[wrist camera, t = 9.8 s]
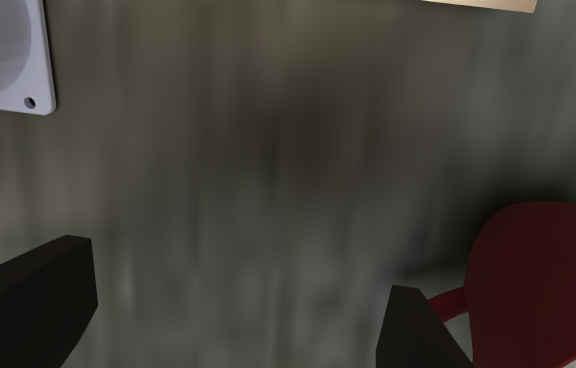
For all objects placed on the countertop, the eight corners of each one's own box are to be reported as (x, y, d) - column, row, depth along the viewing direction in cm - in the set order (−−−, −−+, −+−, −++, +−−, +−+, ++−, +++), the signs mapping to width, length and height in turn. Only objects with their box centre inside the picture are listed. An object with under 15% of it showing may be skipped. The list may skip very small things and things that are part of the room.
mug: (433, 344, 24) (490, 566, 15) (357, 235, 22) (371, 422, 13) (642, 264, 21) (877, 487, 12) (580, 123, 18) (817, 269, 9)
